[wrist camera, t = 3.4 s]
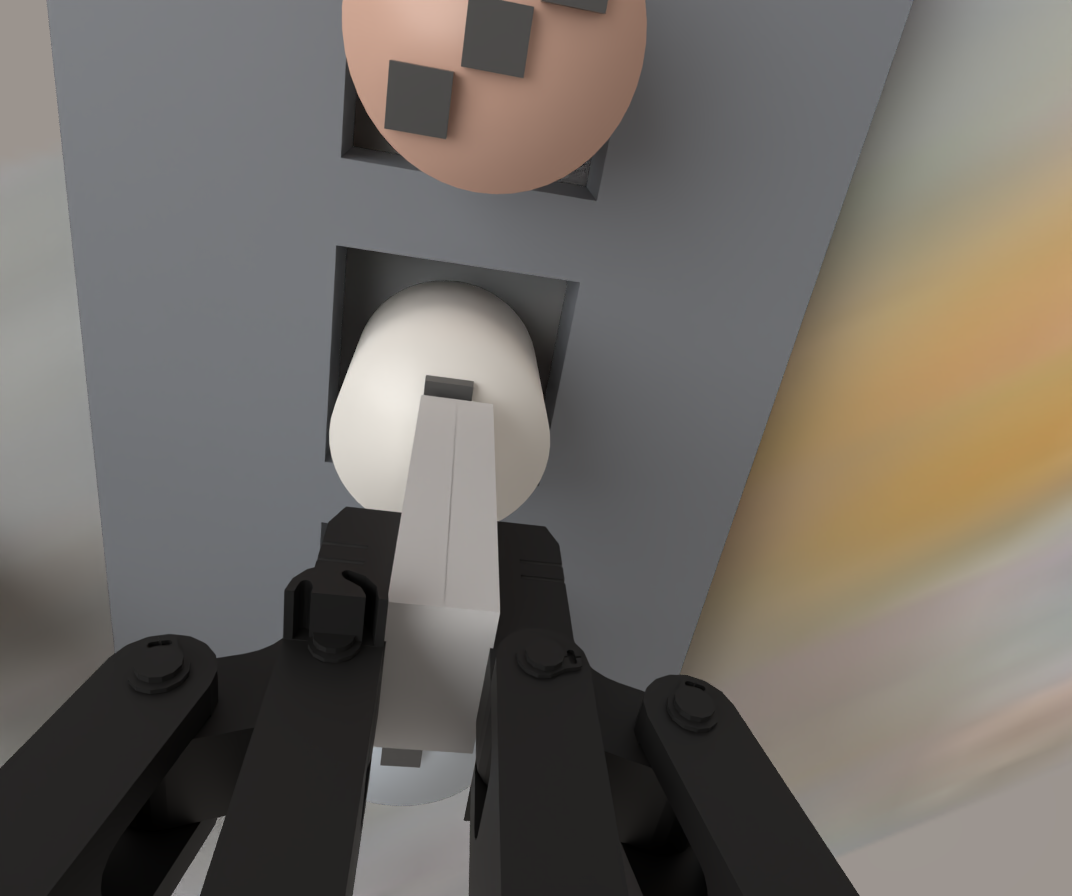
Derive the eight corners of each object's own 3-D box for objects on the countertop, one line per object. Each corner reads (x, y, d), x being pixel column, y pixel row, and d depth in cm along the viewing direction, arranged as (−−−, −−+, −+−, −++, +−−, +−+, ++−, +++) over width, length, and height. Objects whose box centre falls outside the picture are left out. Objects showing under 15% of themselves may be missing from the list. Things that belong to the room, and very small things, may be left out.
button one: (330, 677, 24) (300, 811, 20) (338, 554, 22) (306, 674, 18) (481, 689, 25) (483, 820, 21) (505, 569, 23) (511, 689, 18)
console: (143, 663, 27) (120, 708, 25) (61, -347, 15) (4, -399, 13) (644, 700, 29) (655, 743, 27) (916, -135, 17) (966, -154, 16)
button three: (365, 137, 17) (331, 171, 13) (384, -130, 15) (348, -195, 10) (580, 175, 17) (613, 218, 13) (628, -75, 15) (685, -117, 11)
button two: (351, 435, 21) (321, 531, 17) (362, 267, 19) (332, 330, 15) (520, 456, 22) (530, 552, 18) (550, 295, 20) (570, 363, 16)
